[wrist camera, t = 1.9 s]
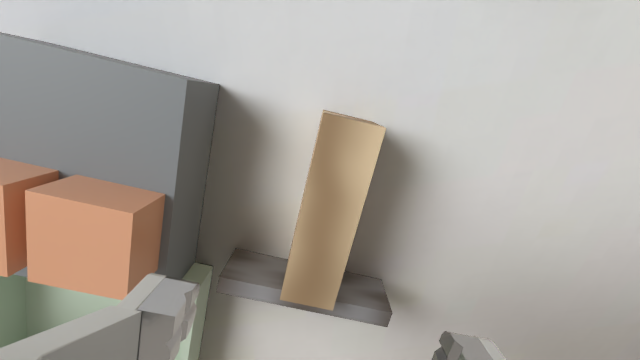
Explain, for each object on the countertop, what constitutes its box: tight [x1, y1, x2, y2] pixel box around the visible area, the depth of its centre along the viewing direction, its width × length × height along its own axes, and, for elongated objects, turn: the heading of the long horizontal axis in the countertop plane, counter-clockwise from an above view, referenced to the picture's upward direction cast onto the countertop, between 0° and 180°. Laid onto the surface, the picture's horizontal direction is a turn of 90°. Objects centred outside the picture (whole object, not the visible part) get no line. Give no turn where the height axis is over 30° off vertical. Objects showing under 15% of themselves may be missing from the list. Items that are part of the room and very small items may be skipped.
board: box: [0, 32, 219, 279], centre depth 19 cm, size 12×14×5 cm
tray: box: [0, 263, 213, 360], centre depth 23 cm, size 15×11×3 cm
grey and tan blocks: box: [217, 110, 392, 327], centre depth 20 cm, size 12×13×5 cm
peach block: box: [25, 174, 165, 300], centre depth 16 cm, size 5×5×3 cm
